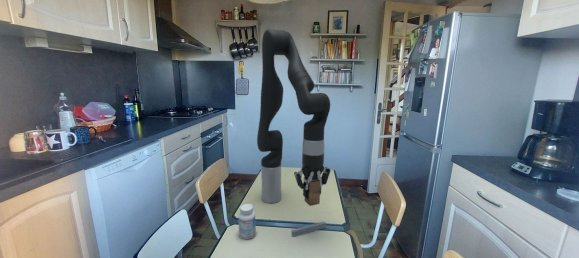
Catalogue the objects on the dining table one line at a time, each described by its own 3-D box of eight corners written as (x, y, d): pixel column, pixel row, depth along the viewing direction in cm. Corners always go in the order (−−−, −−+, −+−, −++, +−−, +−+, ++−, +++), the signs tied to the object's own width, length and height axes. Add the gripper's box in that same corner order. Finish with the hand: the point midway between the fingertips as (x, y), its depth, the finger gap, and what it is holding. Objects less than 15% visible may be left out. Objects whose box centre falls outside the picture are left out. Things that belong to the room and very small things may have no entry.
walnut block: (304, 200, 90) (305, 177, 88) (314, 198, 91) (314, 175, 89) (309, 206, 86) (310, 181, 84) (319, 203, 88) (320, 180, 86)
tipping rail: (291, 234, 91) (291, 229, 90) (324, 225, 96) (324, 221, 96) (292, 236, 89) (292, 231, 89) (325, 227, 95) (325, 223, 94)
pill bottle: (248, 227, 95) (247, 201, 92) (259, 233, 91) (258, 206, 88) (235, 235, 90) (234, 207, 88) (246, 242, 86) (245, 213, 84)
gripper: (325, 146, 91) (323, 189, 94) (290, 150, 85) (289, 195, 89) (336, 151, 84) (334, 197, 87) (299, 157, 78) (298, 205, 82)
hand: (311, 196), depth 88 cm, fingers closed on walnut block, 4 cm apart
